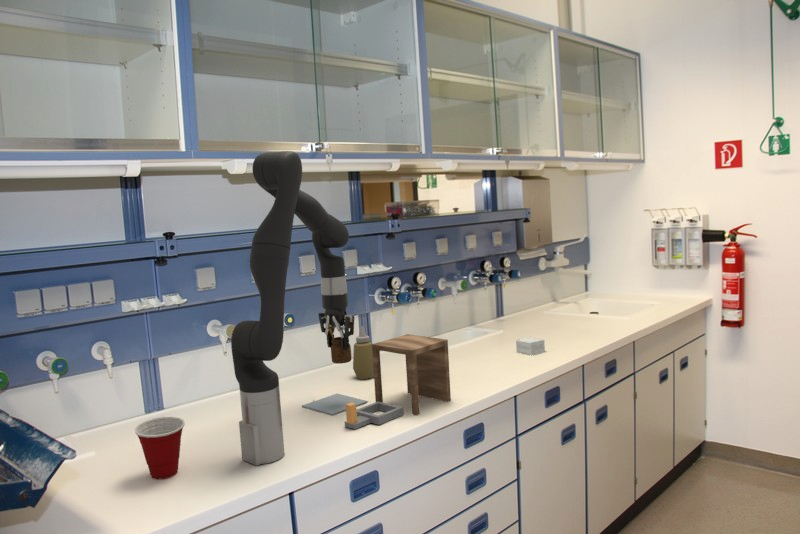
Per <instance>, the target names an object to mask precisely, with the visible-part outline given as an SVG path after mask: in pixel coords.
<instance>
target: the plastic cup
mask: <svg viewBox="0 0 800 534" xmlns="http://www.w3.org/2000/svg"><path fill="white" fill-rule="evenodd" d="M185 425H186V422H185V420H184V419H183V418H181V417H177V416H160V417H155V418H151V419H147V420H144V421H143V422H141V423H138V424H137V425H136V427H134V433H135V435H136V436H137V438H138V439H139V442H140V444H141V449H142V452H143V454H144V458H145V463H146V465H147V468H148V471H149V475H150V476H151V478H152V479H154V480H165V479H169V478H172V477H174V476H175V475H177V473H178V470H179V462H180V461H179V460H180V453H181V442H182V435H183V434H182V433H183V429H184V427H185Z"/></svg>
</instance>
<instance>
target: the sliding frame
mask: <svg viewBox="0 0 800 534" xmlns="http://www.w3.org/2000/svg"><path fill="white" fill-rule="evenodd" d="M377 411H381V412H383V413H380V414H378V415H377V414H374V412H377ZM404 412H405V411H404V407H403V406H399V405H395V404H391V403H387V402H384V401H383V402H379V401H378V402H376V401H375V402H373V403H370V404H368V405H365V406H362V407H359V408H357V407H356V404H355V403H348V404H346V411H345V416H346V418H345V419H346V420H345V421H344V427H347V428H349V429H353V430H357V429H359V428H361V427H363V426H366V425H369V424H371V423H372V424H375V425H378V426H379V425H381V424H384V423H386V422H390V421H391V420H393V419H395V418H399V417H401V416H402V415H404V414H405V413H404Z"/></svg>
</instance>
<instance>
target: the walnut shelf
mask: <svg viewBox="0 0 800 534" xmlns="http://www.w3.org/2000/svg"><path fill="white" fill-rule="evenodd" d="M381 351H382V352H387V353H393V354H399V355H405V368H406V370H405V371H406V385H407V386H406V387H407V394H409V393H410V394H409V395H410V401H411V402H410V403H411V415H412V414H413V416H418V414H419V415H420V414H421V411H420V397H422V396H423V397H424V398H428V399H431V398H433V400H436V399H437V400H436V401H440V400H442V402H445V401H447V402H446V403H449V402H451V400H452V399H451V394H452V393H451V380H450V379H451V378H450V377H451V376H450V359H449V358H450V357H449V341H448V339H446V338H441V337H440V338H438V337H433V336H432V337H431V336H423V335H415V334H410V333H409V334H403V335H400V336H396V337H393V338H390V339H386V340H381V341H379V342H375V343H372V353H373V368H374V377H373V382H374V395H375V396H374V397H375V398H374V399H375V402H378V401H379V402H383V403H384V400H383V399H384V398H383V385H382V383H383V382H382V370H381V369H382V368H381V367H382V366H381ZM423 397H422V398H423ZM448 401H449V402H448Z"/></svg>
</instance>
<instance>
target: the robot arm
mask: <svg viewBox="0 0 800 534" xmlns="http://www.w3.org/2000/svg"><path fill="white" fill-rule="evenodd" d="M252 175H253V179H254V180H255V182H256V183H257V185H258V186H260V188H262V189H263V190H264V191H265V192H266V193H268V194H270V195H271V196H272V197H273V198H274V199H275V200H274V202H273V204H272V206H271V209H270V211H269V212H268V213H267V215H266V216H265V218H264V219H263V221H262V222H261V223H260V225H259V226H258V228H257V229H256V231H255V233H254V235H253V238H252V240H251V248H250V255H249V256H250V257H249V268H250V272H251V275H252V278H253V281H254V283H255V285H256V287H257V290H258V294H259V298H260V313H259V320H242V321H240V322H238V323H237V324H236V325H235V326H234V328H233V331H232V333H231V337H230V338H231V339H230V340H231V341H230V345H231V346H230V348H231V355H232V362H233V369H234V371H233V372H234V376H235V379H236V381H237V383H238V385H239V395H240V396H239V397H240V408H241V420H240V421H239V422H238V427H239V437H240V438H239V439H240V451H241V459H242V461H245V462H247V463H248V464H249V463H250V464H251V465H254V466H259V465H262V464H270V463H274V462H276V461H279V460H280V459H282V458H283V457H284V456H285V444H284V442H285V441H284V431H283V429H284V428H283V417H282V406H281V394H280V391H281V390H280V379H279V375H278V374H277V372H276V371H274V370H272V368H270V367H268V366H267V365H266V364H265V362H266V361H267V362H271V361H273V360H275V359H277V357H278V356H279V355H280V352H281V350H282V347H283V344H284V343H283V341H284V329H285V327H284V326H285V324H284V323H285V322H284V321H285V295H286V287H287V286H286V285H287V284H286V283H287V275H288V267H289V263H290V254H291V247H292V245H291V243H292V232H293V226H294V218H295V216H296V217H297V218H298V219H299V220H300V222H302V224H303V225H304V226H305V228H306V229H308V230H309V231H310V232H312V233H311V240H312V244H313V247H314V249H315V252H316V254H317V255H316V256H317V259H318V261H319V265H320V266H319V267H320V277H321V279H320V292H321V304H322V306H321V307H322V309H323V310H324V311H323V312H318V319H319V321H318V322H319V325H320V331H321V333H324V335H325V336H326V344H327V348H330V349H331V345H332V343H331V340H332V338H333V337H334V338H335V330H337V332H339V335H340V337H342V338H341V348H342V350H348V349H349V344H350V340H349V339H350V338H349V337H350V336H353V335H355V334H354V333H355V316H354V315H353V314H352V315H350V314H348V313H347V308H348V307H349V300H348V286H347V279H346V270H345V269H346V268H345V261H344V257H342V256H340V255H336V254H333V253H332V252H331V250H330V249H336V248H337V249H338V248H339V249H340V248H343V247H345V246H346V245H347V244H348V242H349V238H350V235H349V230H348V228H347V226H346V225H345V224H344V223H343V222H342V221H340V220H339V219H338V218H336V217H335V216H333V215H332V214H329V213H328V211H327V210H326V209H325V208H324V206H323V205H322V204H321V203H320V202H319V201H318V200H317V199H316V198H315V197H313V196H312V195H311V194H308V193H307V192H305V191H303V190H301V185H302V180H303V179H302V178H303V163H302V159H301V157H300V155H299V154H298V153H296V152H295V151H289V150H285V151H273V152H271V151H270V152H263V153H260V154H258V155H257V156H256V157H255V158H254V161H253V163H252ZM327 323H328V324H327ZM328 326H329V327H330V328H331V330H332V334H333V337H332V335H331V333H330V330H329V327H328ZM344 332H345V333H344ZM264 361H265V362H264Z"/></svg>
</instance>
